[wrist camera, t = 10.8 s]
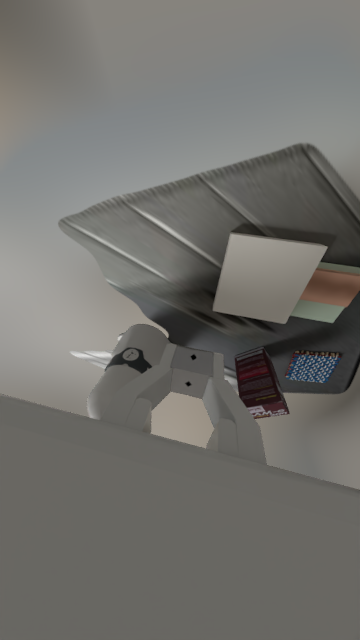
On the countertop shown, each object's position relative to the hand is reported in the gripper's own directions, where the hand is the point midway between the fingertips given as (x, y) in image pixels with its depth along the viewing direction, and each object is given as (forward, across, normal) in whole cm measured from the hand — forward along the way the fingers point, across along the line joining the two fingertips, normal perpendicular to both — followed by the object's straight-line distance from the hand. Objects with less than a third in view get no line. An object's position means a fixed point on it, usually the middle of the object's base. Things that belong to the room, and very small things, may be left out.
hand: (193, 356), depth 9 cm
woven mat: (+32, +32, -26) cm, 52 cm away
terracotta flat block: (+30, +24, -4) cm, 39 cm away
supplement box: (+31, +17, -27) cm, 44 cm away
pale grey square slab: (+31, +11, -5) cm, 33 cm away
